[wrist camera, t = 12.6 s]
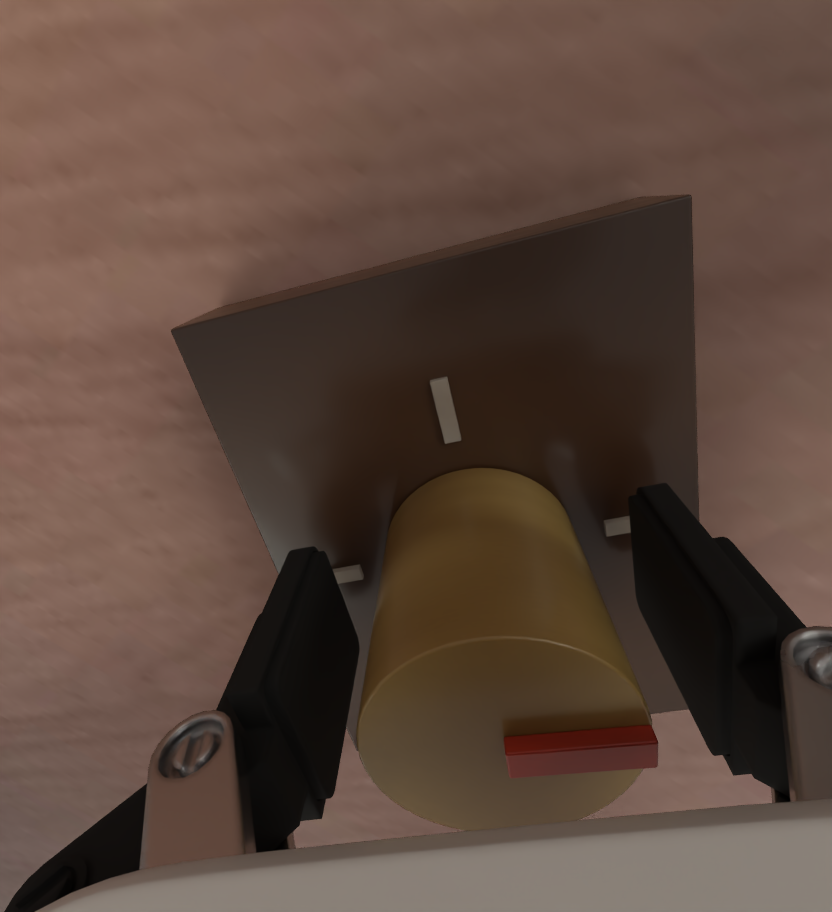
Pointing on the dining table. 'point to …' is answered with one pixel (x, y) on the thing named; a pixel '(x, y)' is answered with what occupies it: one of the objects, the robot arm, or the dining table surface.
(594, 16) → the dining table surface
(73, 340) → the dining table surface
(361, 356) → the dimmer panel
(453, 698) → the dimmer knob
